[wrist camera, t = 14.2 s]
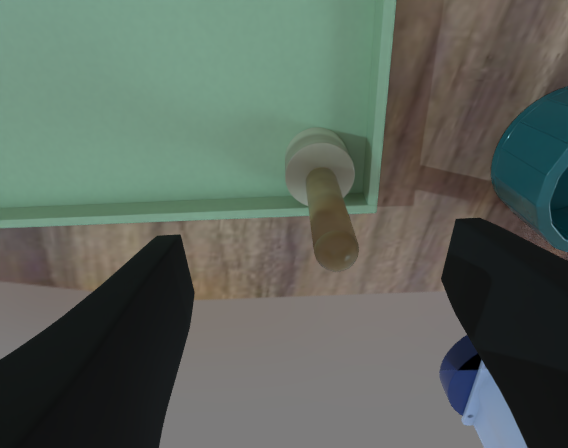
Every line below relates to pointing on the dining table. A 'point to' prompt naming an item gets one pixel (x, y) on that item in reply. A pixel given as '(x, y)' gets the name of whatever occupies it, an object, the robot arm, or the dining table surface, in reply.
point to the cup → (537, 167)
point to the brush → (324, 193)
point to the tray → (183, 105)
